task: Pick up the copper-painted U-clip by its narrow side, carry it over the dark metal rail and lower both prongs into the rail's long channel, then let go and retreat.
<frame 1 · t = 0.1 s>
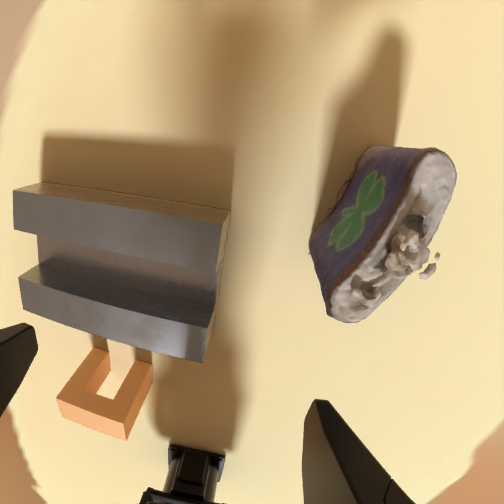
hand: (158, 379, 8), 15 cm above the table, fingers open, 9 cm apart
clip: (122, 365, 27), on the table
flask: (351, 204, 21), on the table
rail: (119, 257, 23), on the table
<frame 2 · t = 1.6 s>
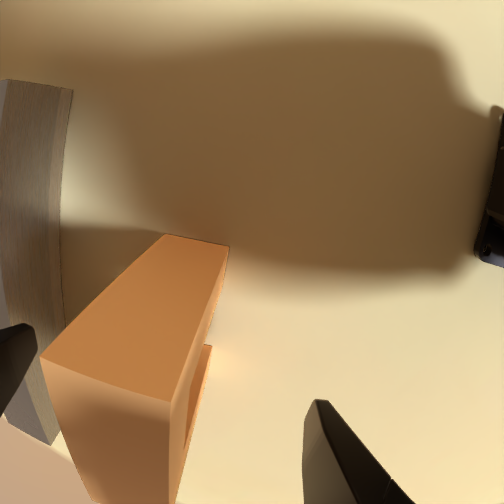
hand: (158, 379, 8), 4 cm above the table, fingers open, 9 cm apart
clip: (187, 311, 12), on the table
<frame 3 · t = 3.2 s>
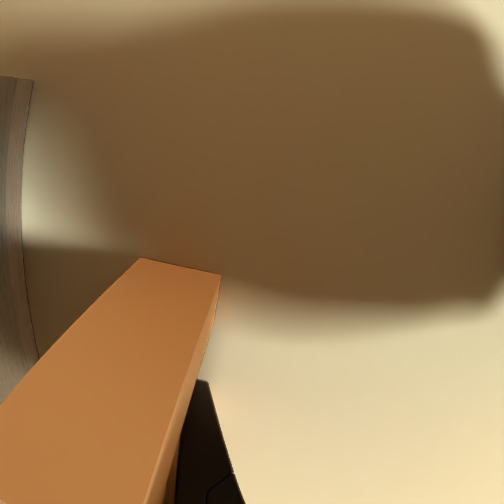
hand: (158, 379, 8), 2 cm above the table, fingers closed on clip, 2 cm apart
clip: (171, 350, 10), on the table, touching gripper
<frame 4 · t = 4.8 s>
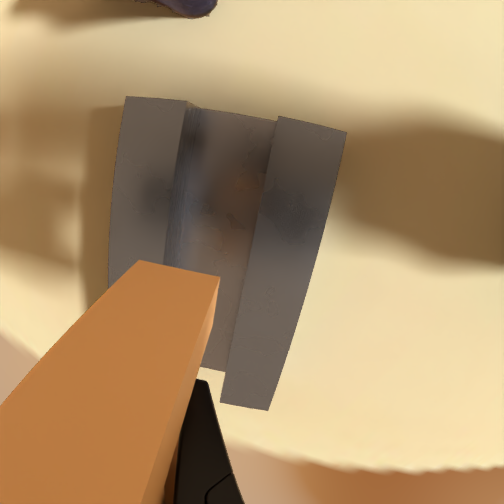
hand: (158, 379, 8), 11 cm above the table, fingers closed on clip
clip: (171, 352, 10), point 10 cm above the table, touching gripper
rail: (214, 253, 19), on the table
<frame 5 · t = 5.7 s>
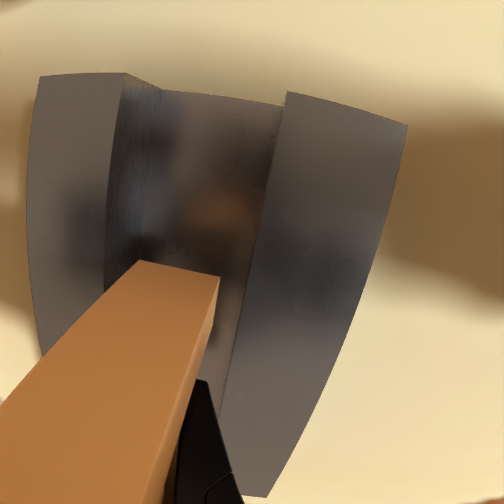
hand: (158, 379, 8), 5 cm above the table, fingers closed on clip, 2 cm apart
clip: (171, 352, 10), point 3 cm above the table, touching gripper
rail: (190, 305, 13), on the table
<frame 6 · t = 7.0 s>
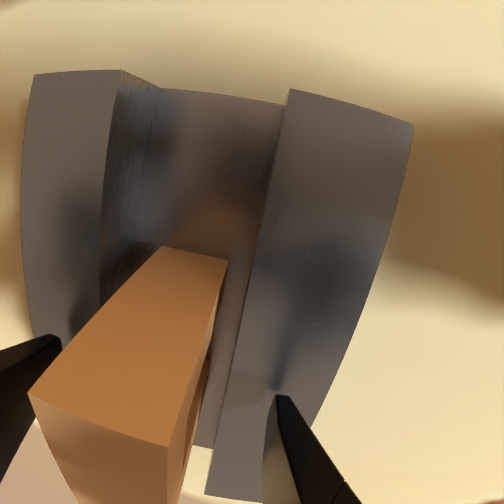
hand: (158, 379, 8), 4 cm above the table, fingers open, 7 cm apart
clip: (185, 326, 12), point 1 cm above the table, touching rail
rail: (189, 309, 12), on the table
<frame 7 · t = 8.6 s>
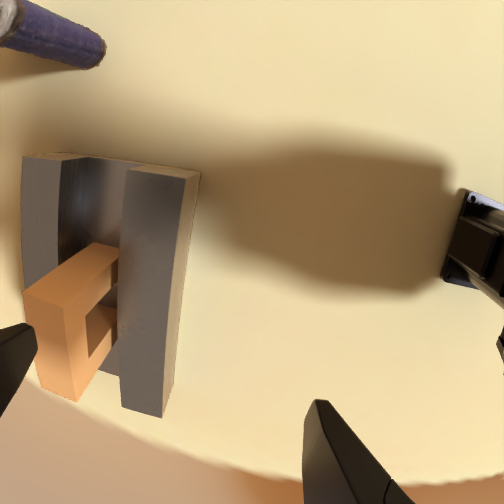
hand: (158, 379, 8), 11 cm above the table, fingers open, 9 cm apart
clip: (108, 288, 19), point 1 cm above the table, touching rail
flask: (61, 40, 15), on the table
rail: (112, 279, 20), on the table
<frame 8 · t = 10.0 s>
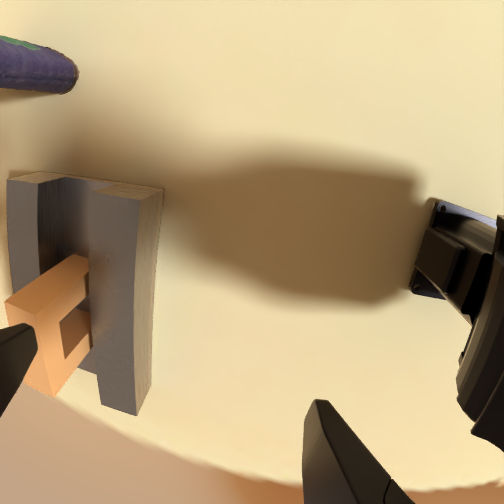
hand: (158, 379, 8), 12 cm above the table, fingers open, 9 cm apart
clip: (87, 296, 21), point 1 cm above the table, touching rail
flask: (40, 66, 16), on the table
rail: (92, 287, 21), on the table
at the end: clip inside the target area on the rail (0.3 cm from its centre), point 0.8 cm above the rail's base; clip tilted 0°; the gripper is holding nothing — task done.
